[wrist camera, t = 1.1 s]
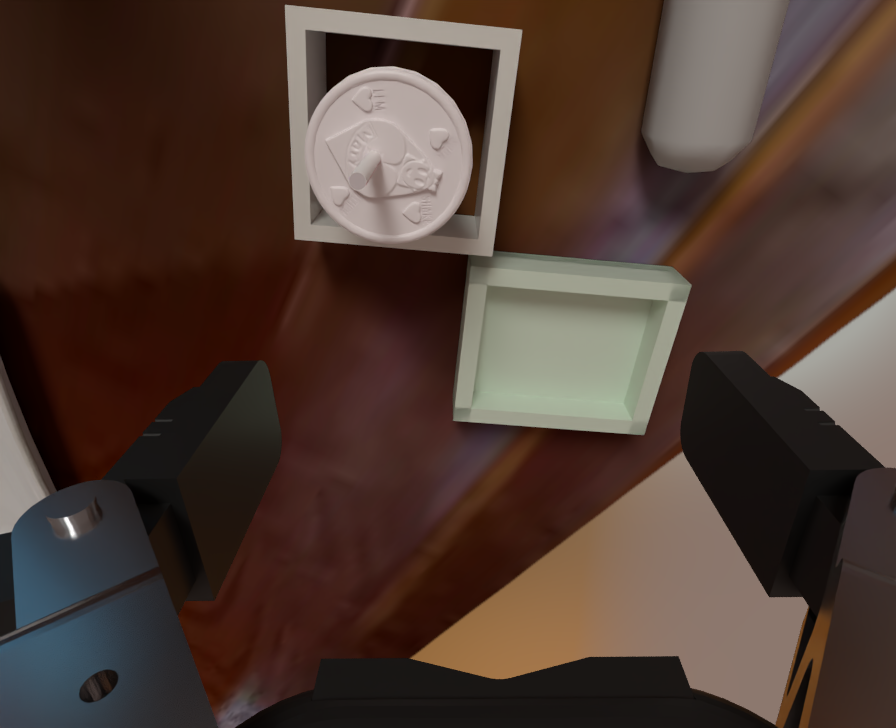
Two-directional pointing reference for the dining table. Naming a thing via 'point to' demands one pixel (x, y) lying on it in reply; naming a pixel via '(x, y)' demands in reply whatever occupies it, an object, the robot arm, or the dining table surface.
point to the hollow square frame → (310, 88)
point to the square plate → (18, 461)
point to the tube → (709, 80)
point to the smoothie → (388, 155)
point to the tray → (564, 341)
